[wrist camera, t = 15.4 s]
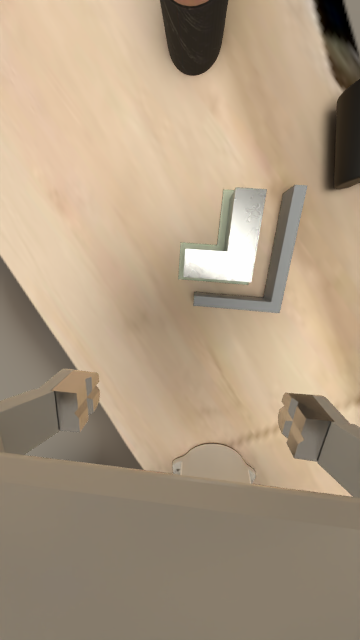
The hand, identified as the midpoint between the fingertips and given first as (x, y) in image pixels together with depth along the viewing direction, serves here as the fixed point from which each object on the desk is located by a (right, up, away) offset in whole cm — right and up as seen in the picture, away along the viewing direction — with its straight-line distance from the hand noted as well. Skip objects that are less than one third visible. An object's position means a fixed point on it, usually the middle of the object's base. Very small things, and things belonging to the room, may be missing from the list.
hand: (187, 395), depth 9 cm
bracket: (+6, +16, +25) cm, 30 cm away
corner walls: (+10, +15, +25) cm, 31 cm away
